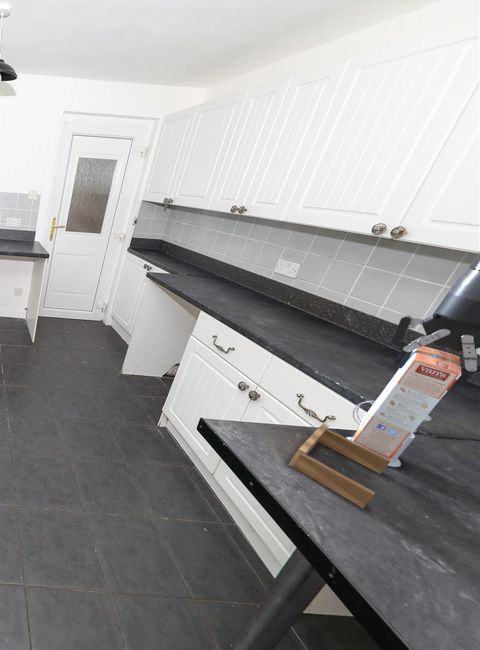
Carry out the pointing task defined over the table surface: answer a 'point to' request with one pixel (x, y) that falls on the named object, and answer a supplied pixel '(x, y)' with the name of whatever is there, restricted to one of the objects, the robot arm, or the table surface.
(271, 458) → the table surface
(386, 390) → the cracker box
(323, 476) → the rack
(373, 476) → the table surface
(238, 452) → the table surface
